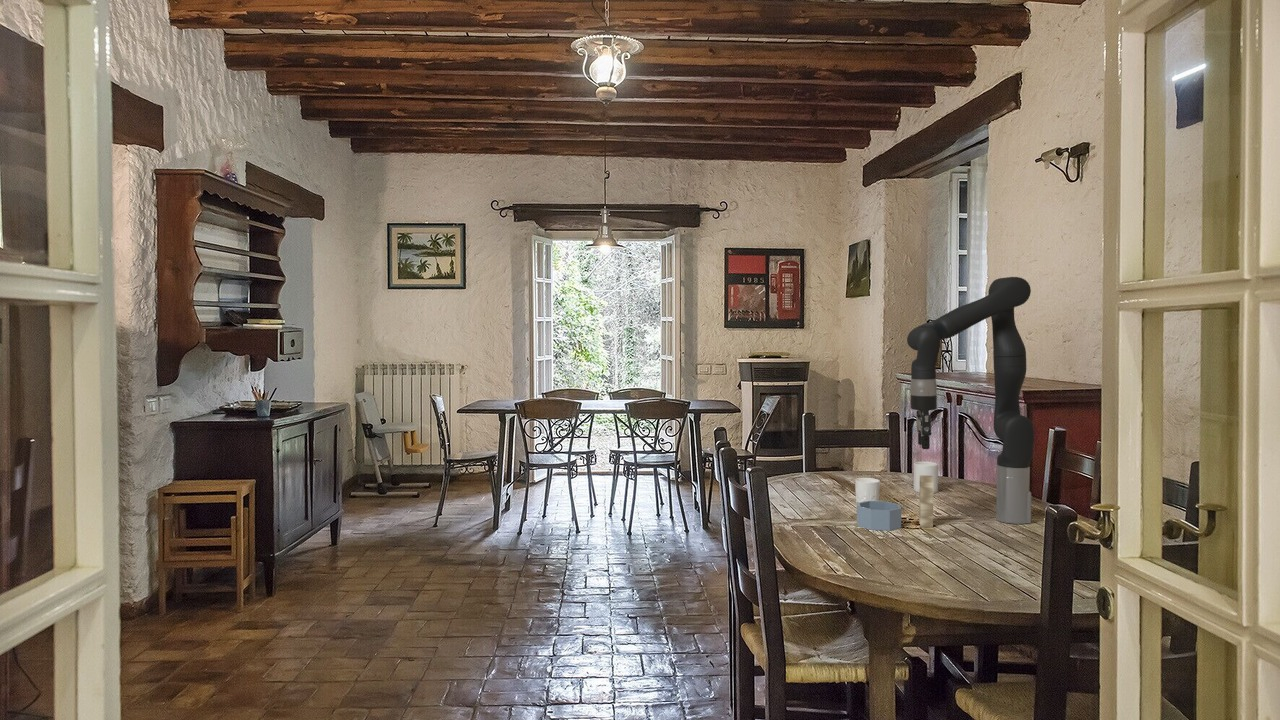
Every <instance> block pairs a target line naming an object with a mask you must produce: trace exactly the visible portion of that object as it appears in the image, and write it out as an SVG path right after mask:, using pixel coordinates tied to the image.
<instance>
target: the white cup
mask: <svg viewBox="0 0 1280 720" xmlns="http://www.w3.org/2000/svg"><path fill="white" fill-rule="evenodd" d="M880 484H881V480H880V479H877V478H872V477H857V478H855V479H854V490H855V491H854V492H855V503H856V505H857V503H858V502H863V501H880V500H879V499H880V497H879V496H880V487H881V485H880Z"/></svg>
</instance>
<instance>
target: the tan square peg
mask: <svg viewBox="0 0 1280 720" xmlns="http://www.w3.org/2000/svg"><path fill="white" fill-rule="evenodd" d="M933 479H934V478H933V477H932V476H925V475H920V488H919V493H918V494H919V497H918V498H919V499H918V500H919V502H918V504H919V505H918V507H919V508H918V510H919V511H918V524H920V525H919V526H920V527H921V528H934V527H933V526H934V494H933Z"/></svg>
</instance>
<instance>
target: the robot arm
mask: <svg viewBox="0 0 1280 720" xmlns="http://www.w3.org/2000/svg"><path fill="white" fill-rule="evenodd" d="M1031 291H1032V289H1031V284H1030V283H1029V282H1028V281H1027V280H1026V279H1025V278H1023V277H1020V276H1019V277H1018V276H1009V277H1008V276H1007V277H1000V278H997V279H994V280H993V281H992V282H991V284H990V286H989V288H988V295H986V296H984V297H981V298H979V299H977V300H974V301H972V302H969V303H966V304H964V305H961V306H959V307H956V308H954V309H953V310H951V311H949V312H947V313H944V314H942V315H941V316H939V317H938V318H936V319H934V320H931V321H928V322H925V323H923V324H921V325H918V326H916V327H915V328H913V329H912V330H910V332H909V333H908V334H907V337H906V343H907V345H908V347H910V348H911V349H912V350H914V351H917V353H916V355H917V356H916V359H913V361H912V362H911V364H910V365H911V367H910V368H911V369H910V374H911V375H910V377H911V379H910V385H909V386H910V387H909V388H910V399H909V401H910V409H911V410H914V411H915V413H916V414H915V421H916V423H915V425H916V432H917V443H918V445H919V446H921V449H922V450H929V449H930V448H931V447H930V442H931V441H930V437H931V436H932V415H930V413H929V412H930V411H934V410H937V408H938V403H937V400H938V397H937V396H938V388H937V387H938V386H937V376H936V375H937V370H936V369H937V368H936V364H937V362H938V358H939V353H940V348H941V340H946V339H950V338H952V337H955V336H957V335H959V334H960V333H962V332H964V331H965V330H968V329H969V328H971V327H973V326H974V325H976V324H979V323H981V322H982V321H984V320H987V319H989V318H991V326H992V346H993V347H992V348H993V352H992V357H993V359H992V360H993V361H992V362H993V374H994V375H993V376H994V377H993V378H994V396H995V397H994V398H995V399H994V410H993V411H994V412H993V432H994V434H995V436H996V437H997V438H998V439H999V440H1001V441H1002V450H1001V453H1000V454H998V456H997V457H996V497H995V498H996V500H995V501H996V503H995V504H996V505H995V520H996V521H999V522H1000V523H1001V522H1002V523H1006V524H1014V525H1022V524H1025V525H1026V524H1031V522H1032V492H1031V491H1030V479H1031V478H1030V475H1031V474H1030V473H1031V460H1032V459H1033V455H1034V445H1035V444H1034V443H1035V442H1034V441H1035V427H1034V424H1033V421H1032V420H1031V419H1030V418H1028V417H1027V416H1026V415H1021V411H1020V395H1021V390H1022V387H1023V384H1024V381H1025V378H1026V375H1027V350H1026V347H1025V343H1024V341H1023V339H1022V337H1021V334H1020V332H1019V330H1018V328H1017V325H1016V320H1015V308H1017V307H1020V306H1022V305H1024V304H1026V302H1027V301H1028V300H1029V299H1030V296H1031Z"/></svg>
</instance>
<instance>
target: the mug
mask: <svg viewBox="0 0 1280 720" xmlns="http://www.w3.org/2000/svg"><path fill="white" fill-rule="evenodd" d="M920 475H925V476H932V477H933V478H934V479H933V495H935V494H937V493H938V491H939V489H938V488H939V464H938V462H937V463H936V462H933V461H915V462H914V463H913V491H914V492H915V493H918V494H919V488H920Z"/></svg>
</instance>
